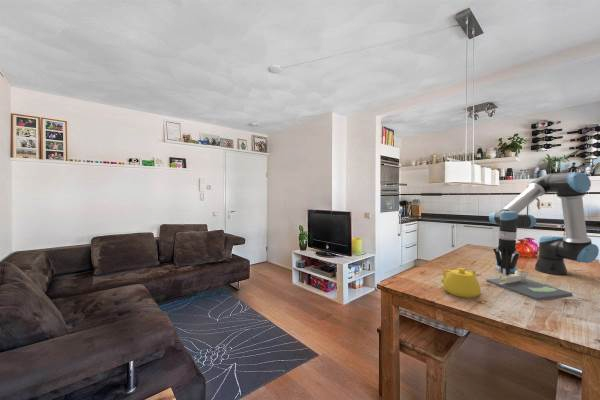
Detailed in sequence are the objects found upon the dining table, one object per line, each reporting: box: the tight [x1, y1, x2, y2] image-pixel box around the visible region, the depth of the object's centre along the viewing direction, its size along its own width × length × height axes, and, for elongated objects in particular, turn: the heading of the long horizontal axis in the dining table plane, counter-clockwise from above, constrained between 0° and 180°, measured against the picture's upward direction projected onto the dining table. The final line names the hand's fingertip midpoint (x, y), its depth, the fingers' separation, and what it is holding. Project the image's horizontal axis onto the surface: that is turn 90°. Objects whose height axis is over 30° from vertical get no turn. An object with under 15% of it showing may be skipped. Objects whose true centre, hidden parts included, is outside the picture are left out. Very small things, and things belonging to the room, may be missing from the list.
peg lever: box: [500, 268, 527, 283], centre depth 144 cm, size 19×5×6 cm, turn 111°
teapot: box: [441, 267, 482, 299], centre depth 136 cm, size 20×19×13 cm
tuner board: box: [485, 277, 573, 301], centre depth 140 cm, size 24×26×2 cm
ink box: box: [494, 251, 518, 274], centre depth 169 cm, size 9×8×12 cm
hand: (505, 279), depth 145 cm, fingers closed
